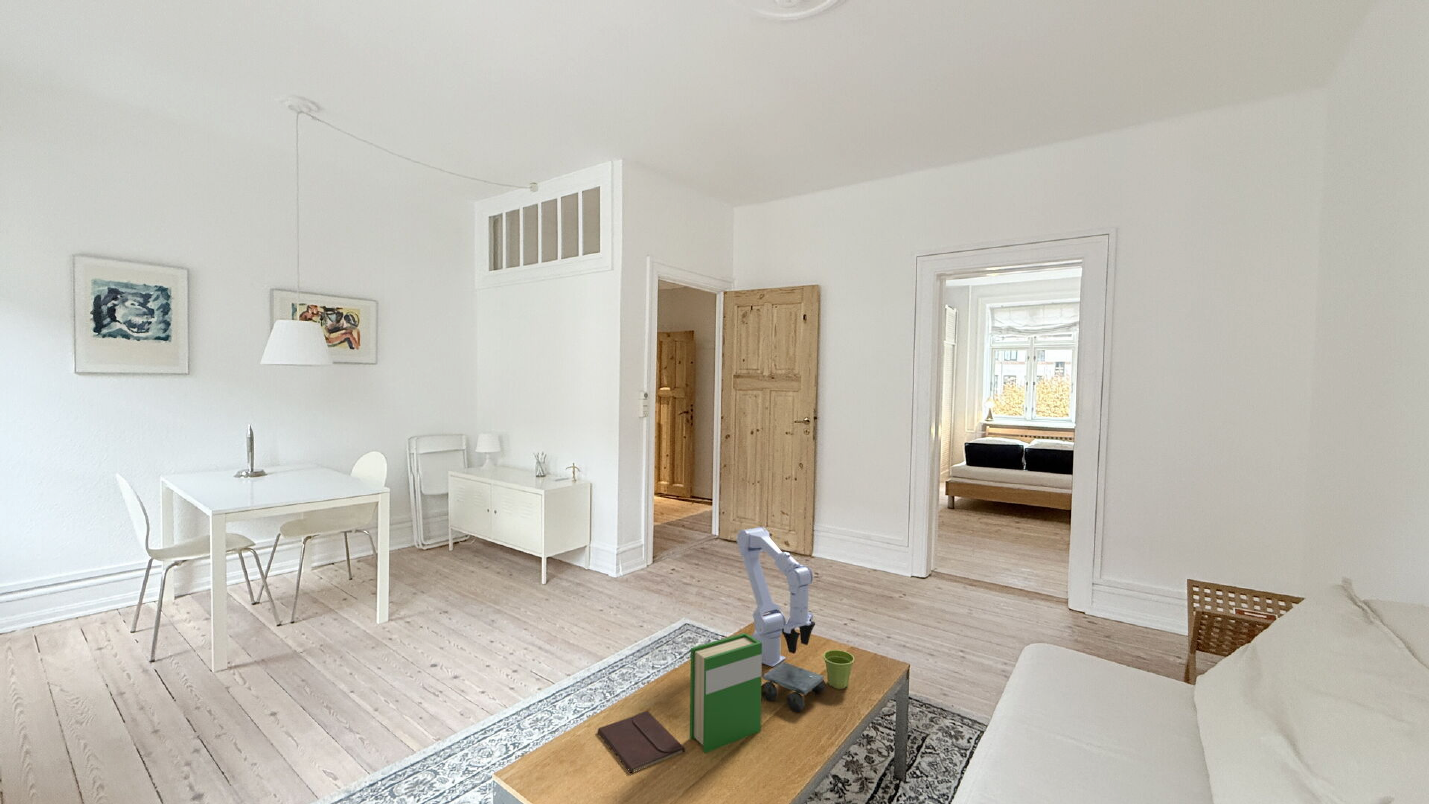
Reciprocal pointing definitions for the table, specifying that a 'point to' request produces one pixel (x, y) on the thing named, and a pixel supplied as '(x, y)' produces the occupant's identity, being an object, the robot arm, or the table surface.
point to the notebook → (640, 741)
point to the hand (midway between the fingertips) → (798, 648)
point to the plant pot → (838, 667)
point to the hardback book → (725, 691)
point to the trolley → (792, 684)
